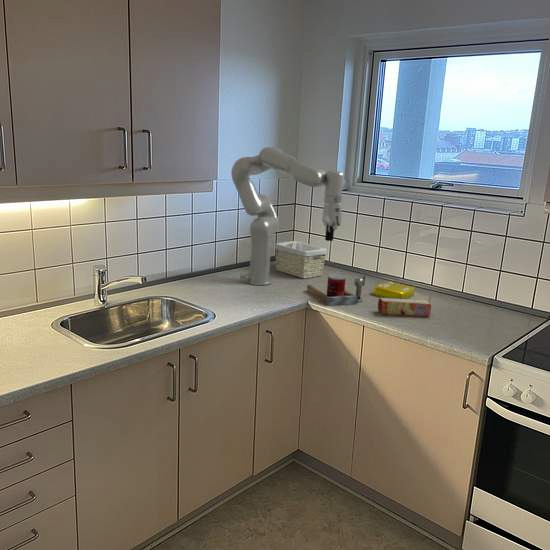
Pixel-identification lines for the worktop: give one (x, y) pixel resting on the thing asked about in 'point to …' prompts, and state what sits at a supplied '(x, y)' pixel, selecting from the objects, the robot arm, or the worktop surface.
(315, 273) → the storage basket
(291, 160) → the robot arm
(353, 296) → the bay
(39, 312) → the worktop surface
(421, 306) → the snack package
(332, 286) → the canned food
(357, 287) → the grey metal upright piece
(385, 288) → the element tile
